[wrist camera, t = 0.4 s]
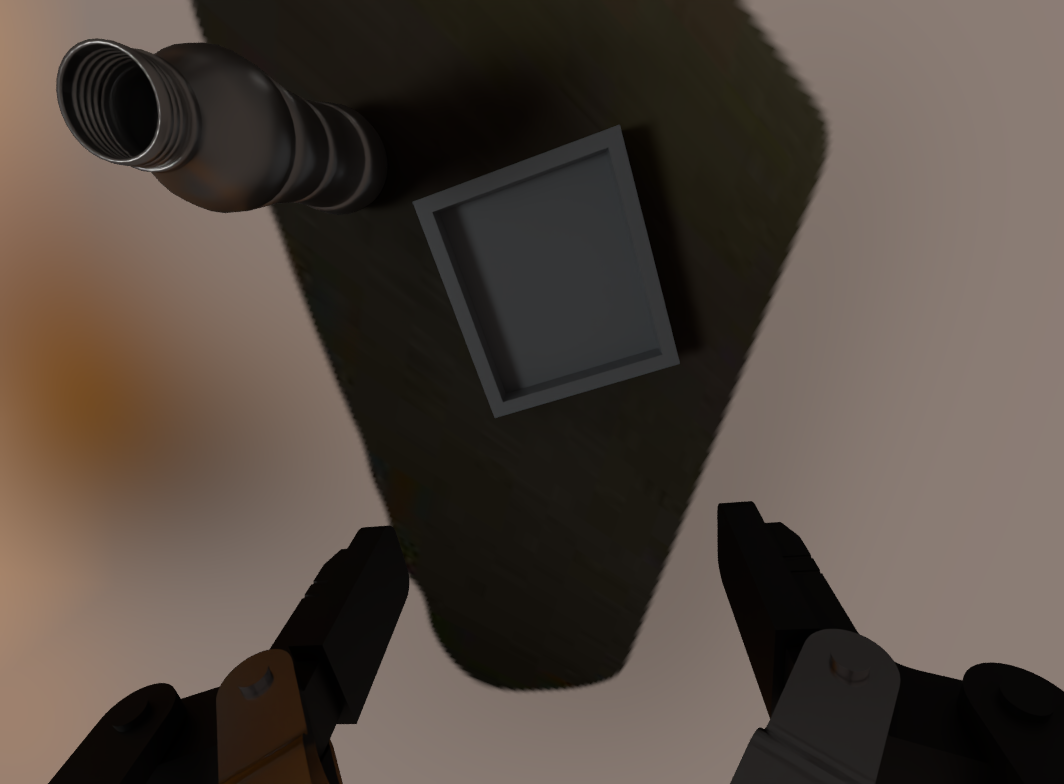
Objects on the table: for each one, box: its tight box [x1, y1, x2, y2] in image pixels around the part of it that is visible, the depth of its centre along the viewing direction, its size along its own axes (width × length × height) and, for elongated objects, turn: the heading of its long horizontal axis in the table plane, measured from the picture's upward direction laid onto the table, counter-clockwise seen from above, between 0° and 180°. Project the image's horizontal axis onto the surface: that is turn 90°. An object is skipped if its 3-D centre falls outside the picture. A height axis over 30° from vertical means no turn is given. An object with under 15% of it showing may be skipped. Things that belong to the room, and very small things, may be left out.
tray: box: [413, 125, 680, 418], centre depth 36 cm, size 16×14×3 cm
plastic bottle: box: [56, 39, 388, 215], centre depth 26 cm, size 6×7×20 cm
